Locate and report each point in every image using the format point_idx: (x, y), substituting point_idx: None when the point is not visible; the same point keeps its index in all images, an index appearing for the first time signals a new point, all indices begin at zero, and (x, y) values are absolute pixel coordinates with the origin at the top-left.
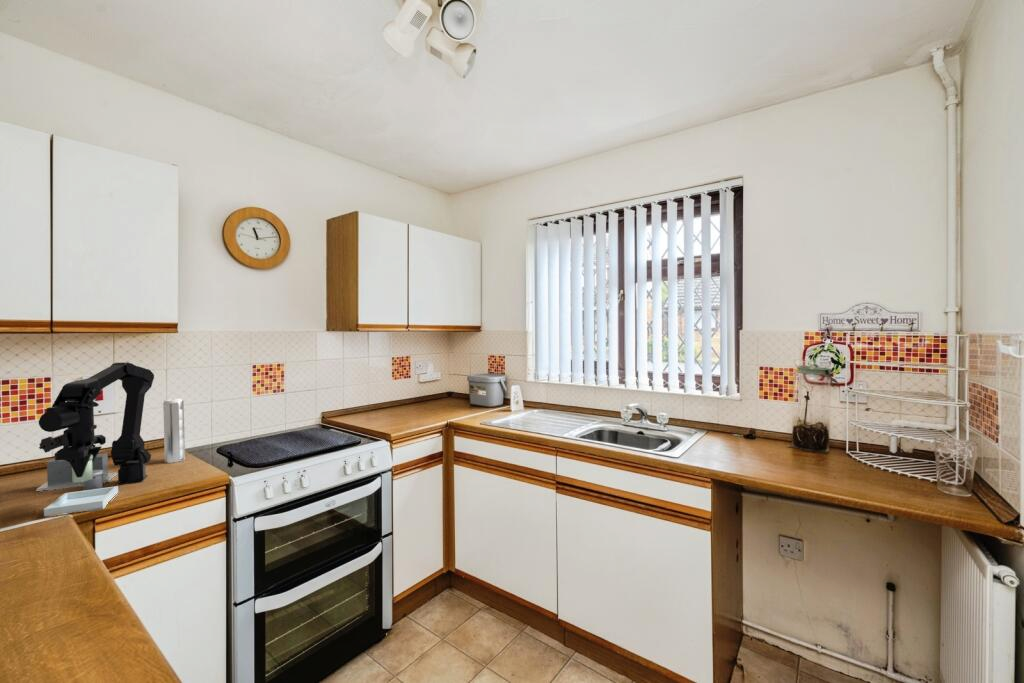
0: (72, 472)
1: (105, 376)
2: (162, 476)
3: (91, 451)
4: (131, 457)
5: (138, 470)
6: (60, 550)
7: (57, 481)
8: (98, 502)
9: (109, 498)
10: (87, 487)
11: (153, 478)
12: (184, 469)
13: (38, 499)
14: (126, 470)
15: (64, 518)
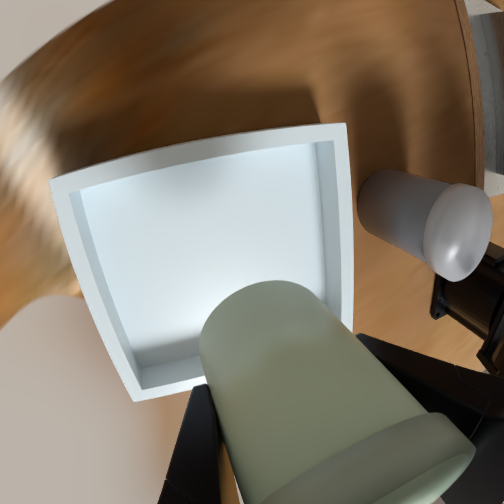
0: (244, 367)
1: None
2: (447, 342)
3: (474, 500)
4: (500, 367)
5: (470, 322)
6: None
7: (495, 39)
8: (127, 387)
9: None
10: (386, 208)
11: (444, 328)
12: (468, 358)
13: (380, 3)
14: (480, 295)
15: (43, 282)
